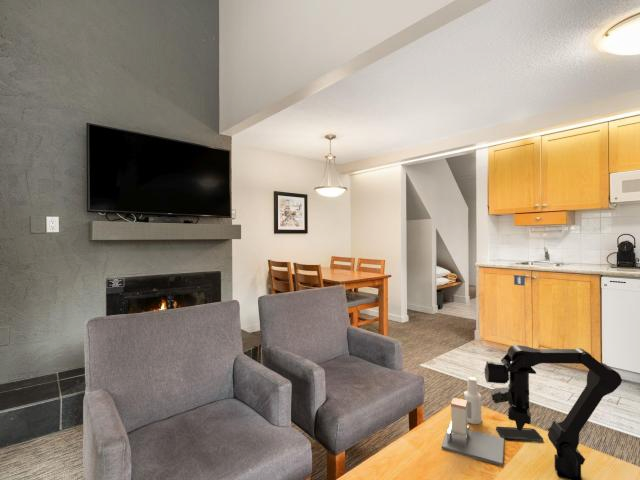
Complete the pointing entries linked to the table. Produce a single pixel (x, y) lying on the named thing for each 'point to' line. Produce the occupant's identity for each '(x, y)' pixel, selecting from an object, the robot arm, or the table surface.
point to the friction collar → (457, 437)
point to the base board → (479, 447)
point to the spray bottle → (473, 402)
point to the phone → (519, 434)
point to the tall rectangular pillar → (459, 416)
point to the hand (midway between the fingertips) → (519, 429)
